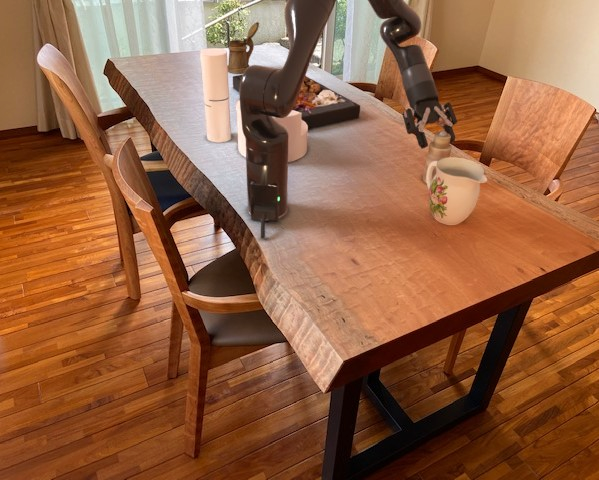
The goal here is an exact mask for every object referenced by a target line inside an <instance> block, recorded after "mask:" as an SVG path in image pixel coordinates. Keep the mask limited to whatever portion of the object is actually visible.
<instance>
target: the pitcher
mask: <svg viewBox="0 0 599 480" xmlns="http://www.w3.org/2000/svg"><path fill="white" fill-rule="evenodd" d="M435 166H436V175H435V176H434V178H433V180H432V172H433V169H434V167H435ZM426 182H427V183H426V185H427V189H428V205H429V210H430V213H431V214H432V217H433V218H434V219H435V221H437V222H439V223H441V224H443V225H447V226H456V225H459V224H461V223H462V222H464V221H465V220H466V219H467V218H468V217H469V216H470V215H471V214H472V212H473V211H474V210H475V207H476V205H477V203H478V200H479V198H480V193H481V184H484V183H487V182H488V177H487V176H486V175H485V168H484V167H483V166H482V165H481V164H479V163H478V162H476V161H474V160H472V159H468V158H464V157H456V156H450V157H448V158H443V159H440V160H439V161H433V162H431V163H430V165H429V167H428V169H427V174H426Z"/></svg>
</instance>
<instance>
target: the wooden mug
mask: <svg viewBox="0 0 599 480" xmlns="http://www.w3.org/2000/svg"><path fill="white" fill-rule="evenodd" d="M259 27H260V23H259V21H257V22H255V23H254V24H252V25H251V26H250V29H249V30H248V32H247V37H246V38H243V39H232V40H230V41H229V45H228V62H227V65H228V73H231V74H243V73H244V71H245V70H246V69H247V68H248V67H249V66H250V64H249V63H250V58H251V55H252V54H253V51H254V47H255V45H254V42H253V41H254V40H253V37H254V36H255V35H256V34H257V31H258V30H259ZM248 47H249V49H248ZM247 50H248V51H247Z"/></svg>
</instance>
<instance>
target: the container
mask: <svg viewBox="0 0 599 480" xmlns="http://www.w3.org/2000/svg"><path fill="white" fill-rule="evenodd" d="M235 106H236V127H237V150H238V152H239V154H240V155H241V156H242V157H244V158H245V159H246V140H245V136H244V134H243V130H242V120H241V109H240V98H238V100H237V101H236V104H235ZM301 116H302V113H300V112H297V111H294V110H292V111H291V113H290V114H289V115H288V116H287V117H285V118H276V117H273V119H274V120H275V121H277V122H278V123H279V124H280V125H282V126H283V127H284V128H285V129H286V130H287V132H288V137H289V140H288V163H291V162H295V161H297V160H299V159H301V158H303V157H304V156H305V155H306V153H307V151H308V134H309V132H308V131H309V130H308V125H307V124H306V122H304V121H303V120H302V119H301Z"/></svg>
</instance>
